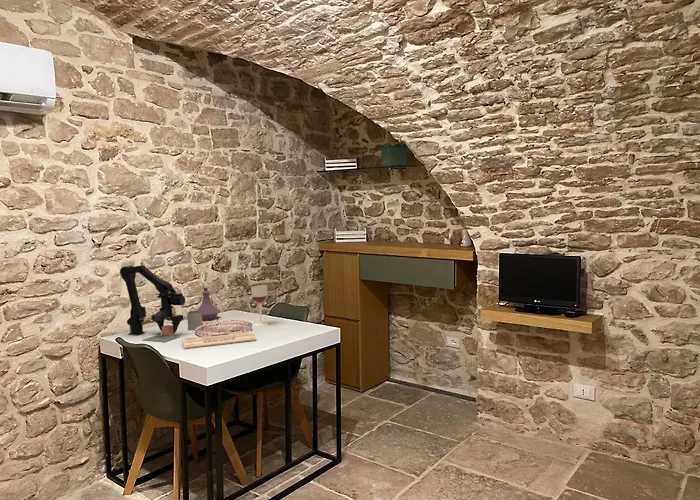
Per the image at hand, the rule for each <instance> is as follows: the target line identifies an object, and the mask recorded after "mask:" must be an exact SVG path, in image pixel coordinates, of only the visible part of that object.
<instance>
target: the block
mask: <svg viewBox="0 0 700 500" xmlns="http://www.w3.org/2000/svg"><path fill="white" fill-rule="evenodd" d="M161 328H162V332H161V335H167V336H174V335H175V334H176V333H174V331H173V324H166V325H164V326H162V327H161Z"/></svg>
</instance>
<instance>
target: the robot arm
mask: <svg viewBox="0 0 700 500" xmlns="http://www.w3.org/2000/svg"><path fill="white" fill-rule="evenodd" d="M119 274H120V277H121V279H122V280H123V281H124V282H125V286H126V289H127V293H128V298H129V302H130V305H131V306H130V307H131V308H130V311H129V313H130V315H129V316H130V317H129V318H128V319H127V320H126V324H127V325H128V326H129V333H128V335H131V336H138V335H142V334H145V333H146V331H144V328H143V323H144V320H145V318H146V317H147V311H146V306H143V305H141V301H140V297H139V293H138V288H137V285H136V276H137V274H140V275H141V276H142V277H143V278H144V279H146V280H147V281H148V282H150V283H151V284H152V285H153V286H154V287H155V290H157V291H158V293H159V294H158V295H157V296H156V298H157V299H160V306H161V307H159V311H157V312H156V313H154V314H152V315H151V316H150V317H151V318H150V319H151V320H152V321H153V322H155V323H156V324H157V326H158V328H159V331H160V332H161V333H162V328H161V327H162V326H165V320H171V322H170V323H171V325H173V331H174V333H175V334H176V332H177V331H178V328H179V326H180V323H181V322H182V321H183V320H184V315H182V314H175V313H173V309H174V306H184V305H185V303H186V298H185V295H184V294H183V292H180V293H179V292H178V293H177V291H176V290H175V289H174V287H173V285H172V283H171V282H169V281H167V280H164V279H162V278H160V277H159V276H158V275H156V274H155V273H153V272H152V271H151V270H150V269H148V268H147V267H146V266H145V265H144V264H141V265H135V266H133V265H131V264H130V265H126V266H122V267H120V269H119Z"/></svg>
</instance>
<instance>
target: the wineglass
mask: <svg viewBox="0 0 700 500" xmlns="http://www.w3.org/2000/svg"><path fill="white" fill-rule="evenodd" d="M250 289H251V291H250V292H251V295H252V296H251V297H252V299H253V300H254V302H256V303H258V304H259V322H256V323H254V324H253V326H255V327H264V326H268V325H269V323H268V322H263V319H262V303H263V302H265V300H266V299H267V296H268V285H266V284H265V285H264V284H259V285H257V284H256V285H252V286H251V287H250Z"/></svg>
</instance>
